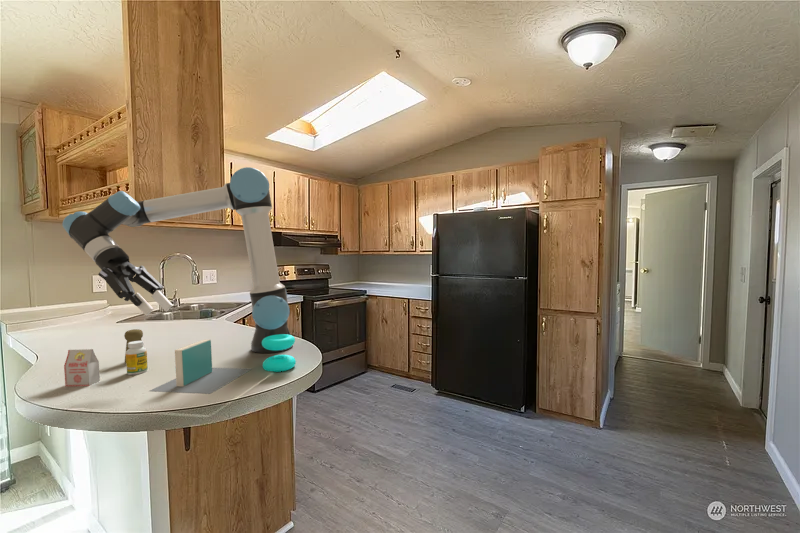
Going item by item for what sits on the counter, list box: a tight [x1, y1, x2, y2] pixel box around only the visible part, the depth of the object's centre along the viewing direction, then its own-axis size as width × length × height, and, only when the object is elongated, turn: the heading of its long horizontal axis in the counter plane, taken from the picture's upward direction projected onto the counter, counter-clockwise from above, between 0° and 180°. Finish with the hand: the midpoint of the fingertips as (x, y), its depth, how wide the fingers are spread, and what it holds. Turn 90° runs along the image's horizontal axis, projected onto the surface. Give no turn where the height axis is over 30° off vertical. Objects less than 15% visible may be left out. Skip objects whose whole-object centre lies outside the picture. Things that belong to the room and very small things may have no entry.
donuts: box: [262, 334, 297, 373], centre depth 117 cm, size 10×10×10 cm
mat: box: [149, 367, 253, 395], centre depth 107 cm, size 18×20×1 cm
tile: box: [174, 339, 213, 386], centre depth 107 cm, size 2×12×10 cm, turn 171°
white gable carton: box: [63, 348, 101, 387], centre depth 106 cm, size 4×7×10 cm, turn 90°
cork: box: [123, 328, 144, 365], centre depth 128 cm, size 6×6×11 cm
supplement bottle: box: [125, 340, 149, 376], centre depth 116 cm, size 5×5×10 cm
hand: (159, 310), depth 108 cm, fingers open, 6 cm apart
